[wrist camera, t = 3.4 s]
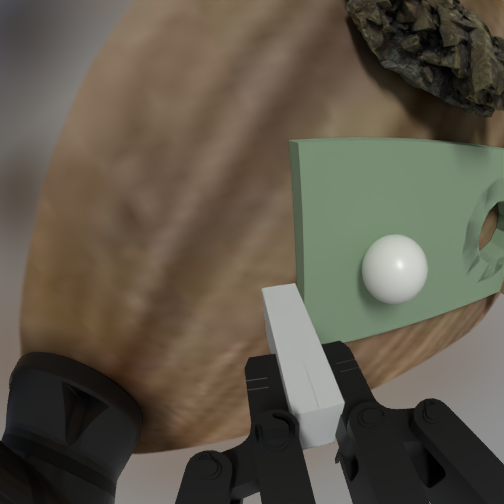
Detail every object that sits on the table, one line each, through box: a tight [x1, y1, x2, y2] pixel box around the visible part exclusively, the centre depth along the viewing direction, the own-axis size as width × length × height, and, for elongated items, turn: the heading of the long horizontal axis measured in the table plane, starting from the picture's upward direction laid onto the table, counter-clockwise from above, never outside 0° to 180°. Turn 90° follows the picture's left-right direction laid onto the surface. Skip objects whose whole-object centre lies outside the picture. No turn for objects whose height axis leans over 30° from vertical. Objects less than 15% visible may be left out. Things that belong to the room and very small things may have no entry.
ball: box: [362, 234, 428, 304], centre depth 15 cm, size 4×4×4 cm
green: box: [289, 137, 504, 344], centre depth 17 cm, size 24×14×4 cm, turn 96°
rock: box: [345, 0, 504, 117], centre depth 11 cm, size 13×10×10 cm
